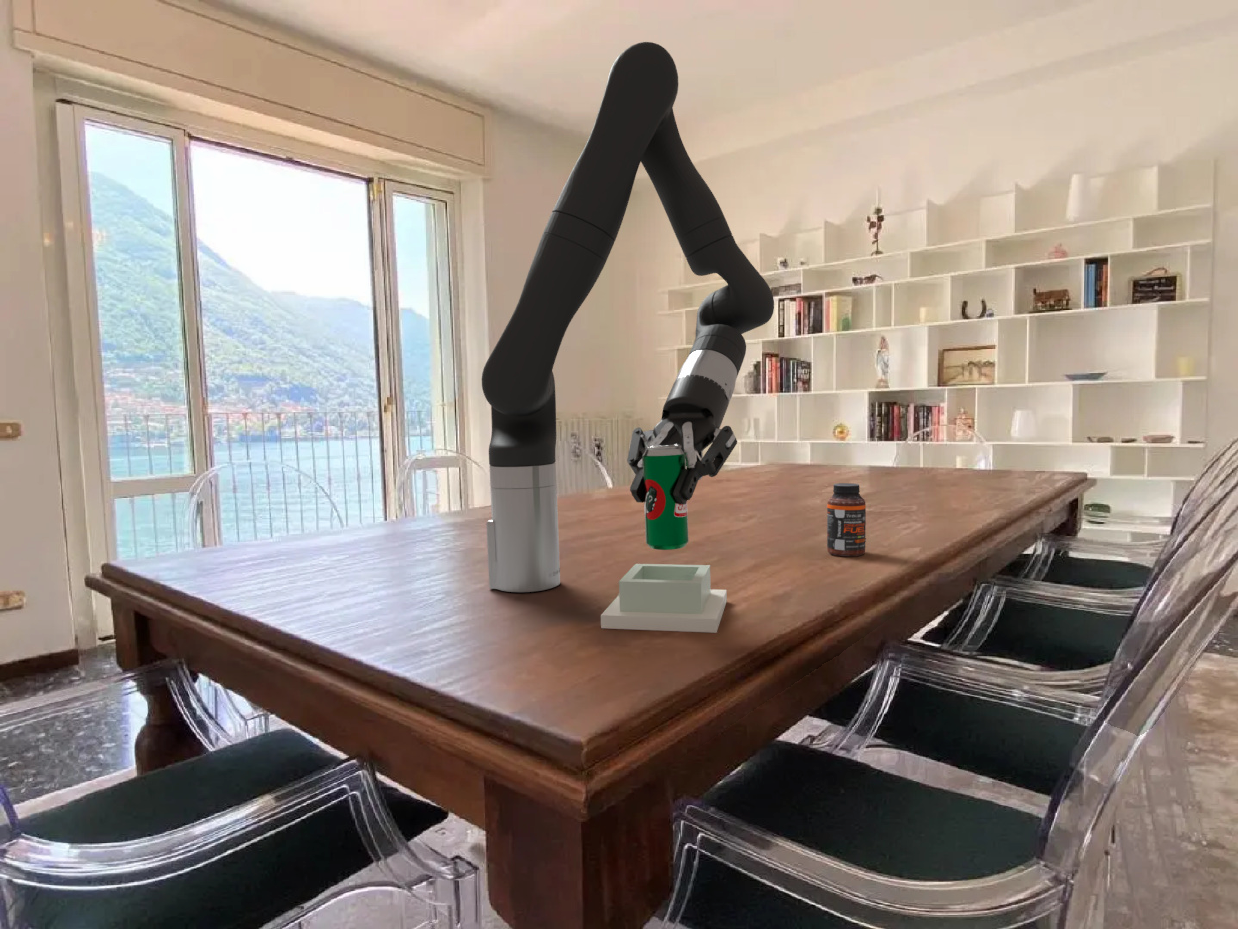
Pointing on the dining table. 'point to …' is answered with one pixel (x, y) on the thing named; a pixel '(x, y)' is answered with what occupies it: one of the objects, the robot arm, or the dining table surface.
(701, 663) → the dining table surface
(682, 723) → the dining table surface
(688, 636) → the dining table surface
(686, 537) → the soda can
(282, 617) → the dining table surface
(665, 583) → the socket holder
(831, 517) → the supplement bottle
